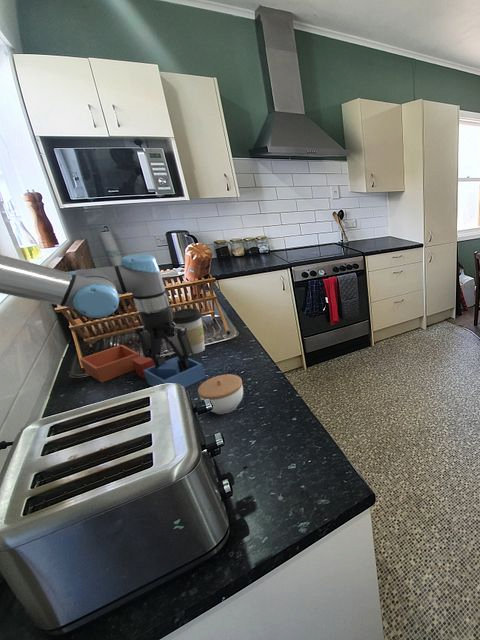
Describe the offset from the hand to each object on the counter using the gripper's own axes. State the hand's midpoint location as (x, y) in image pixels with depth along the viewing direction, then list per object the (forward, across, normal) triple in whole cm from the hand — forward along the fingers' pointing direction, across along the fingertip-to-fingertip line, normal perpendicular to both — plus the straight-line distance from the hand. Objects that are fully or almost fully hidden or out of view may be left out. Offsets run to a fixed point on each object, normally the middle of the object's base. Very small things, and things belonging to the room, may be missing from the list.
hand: (175, 375), depth 109 cm
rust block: (+2, +11, -4) cm, 12 cm away
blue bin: (+2, 0, 0) cm, 2 cm away
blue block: (+1, 0, 0) cm, 1 cm away
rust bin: (+2, +24, -6) cm, 25 cm away
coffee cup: (+2, +6, -20) cm, 21 cm away
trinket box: (+2, -22, +12) cm, 25 cm away
